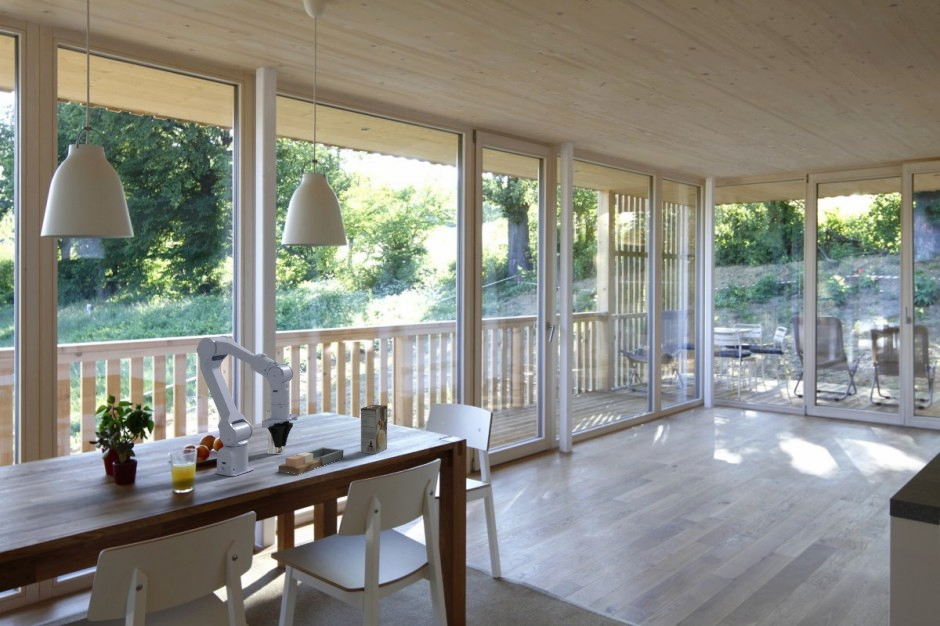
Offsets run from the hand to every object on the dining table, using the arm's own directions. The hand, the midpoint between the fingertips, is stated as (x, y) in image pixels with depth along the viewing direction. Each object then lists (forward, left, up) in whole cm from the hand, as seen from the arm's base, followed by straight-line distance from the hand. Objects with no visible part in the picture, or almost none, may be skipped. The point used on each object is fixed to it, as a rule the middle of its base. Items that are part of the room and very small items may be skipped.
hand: (280, 446), depth 230 cm
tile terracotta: (+7, 0, -7) cm, 10 cm away
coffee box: (+43, -7, -10) cm, 45 cm away
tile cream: (+12, 0, -7) cm, 14 cm away
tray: (+22, 0, -9) cm, 24 cm away
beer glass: (+24, +22, -10) cm, 34 cm away
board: (+10, 0, -9) cm, 14 cm away
